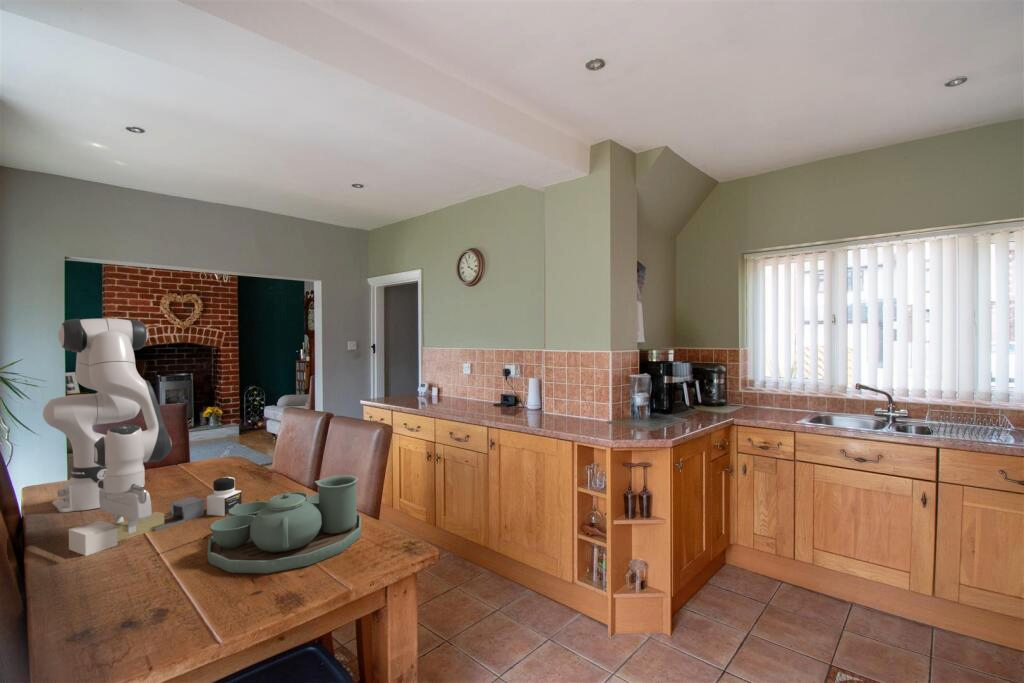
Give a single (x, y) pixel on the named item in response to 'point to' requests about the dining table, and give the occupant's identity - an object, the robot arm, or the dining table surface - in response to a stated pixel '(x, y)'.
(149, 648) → the dining table surface
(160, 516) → the olive rectangular bar
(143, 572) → the dining table surface
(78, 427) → the robot arm
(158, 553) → the dining table surface
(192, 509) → the sleeve
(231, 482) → the medicine bottle
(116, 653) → the dining table surface
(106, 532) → the socket
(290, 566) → the tea set
